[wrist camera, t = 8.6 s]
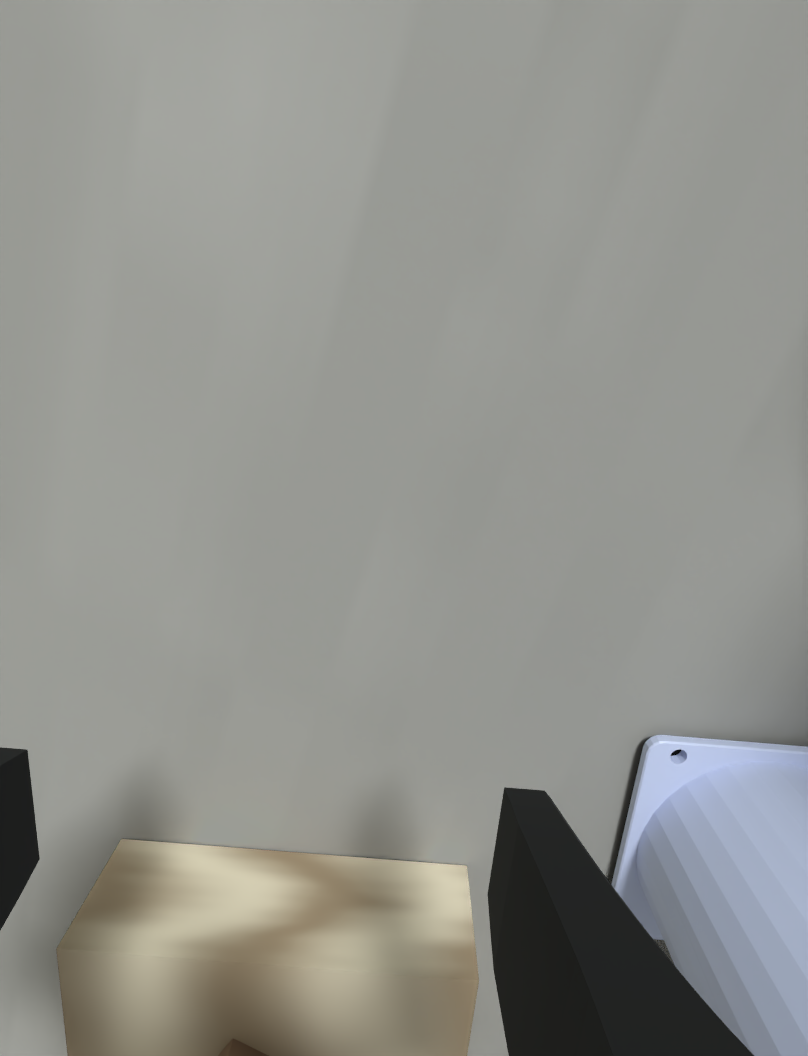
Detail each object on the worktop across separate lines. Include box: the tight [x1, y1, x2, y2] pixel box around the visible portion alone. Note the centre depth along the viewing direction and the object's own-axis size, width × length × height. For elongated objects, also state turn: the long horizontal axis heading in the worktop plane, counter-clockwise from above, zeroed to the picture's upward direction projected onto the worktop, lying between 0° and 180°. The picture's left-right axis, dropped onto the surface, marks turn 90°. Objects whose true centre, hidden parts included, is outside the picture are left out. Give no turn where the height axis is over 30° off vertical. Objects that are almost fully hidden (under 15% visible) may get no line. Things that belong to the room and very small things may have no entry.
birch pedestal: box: [56, 839, 479, 1056], centre depth 21 cm, size 12×12×4 cm
